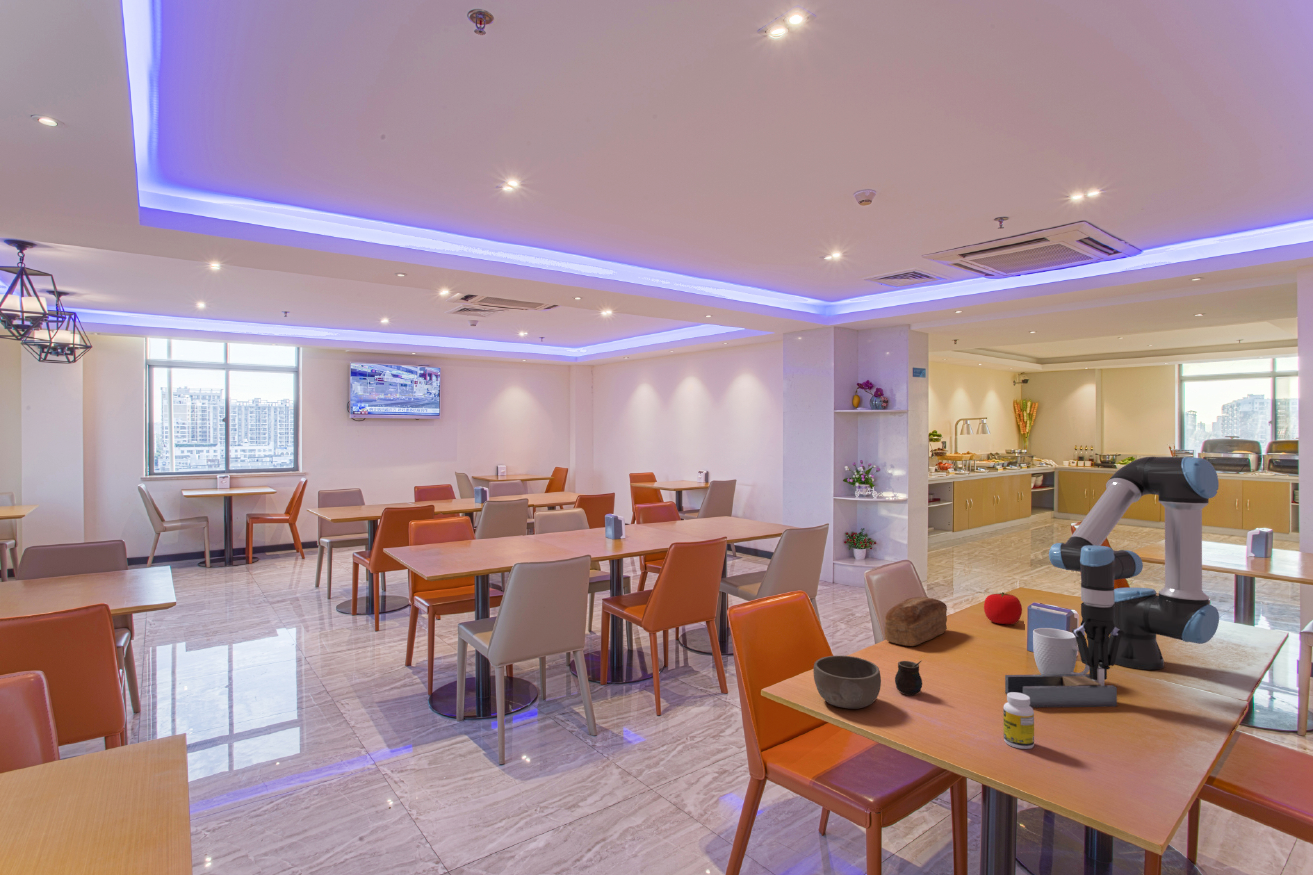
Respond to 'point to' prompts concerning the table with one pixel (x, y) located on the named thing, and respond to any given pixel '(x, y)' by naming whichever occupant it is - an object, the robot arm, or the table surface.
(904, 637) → the bread
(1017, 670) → the table surface
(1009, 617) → the tomato
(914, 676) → the mate gourd
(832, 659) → the bowl
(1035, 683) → the chute
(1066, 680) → the block
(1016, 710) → the pill bottle
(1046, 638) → the mug
